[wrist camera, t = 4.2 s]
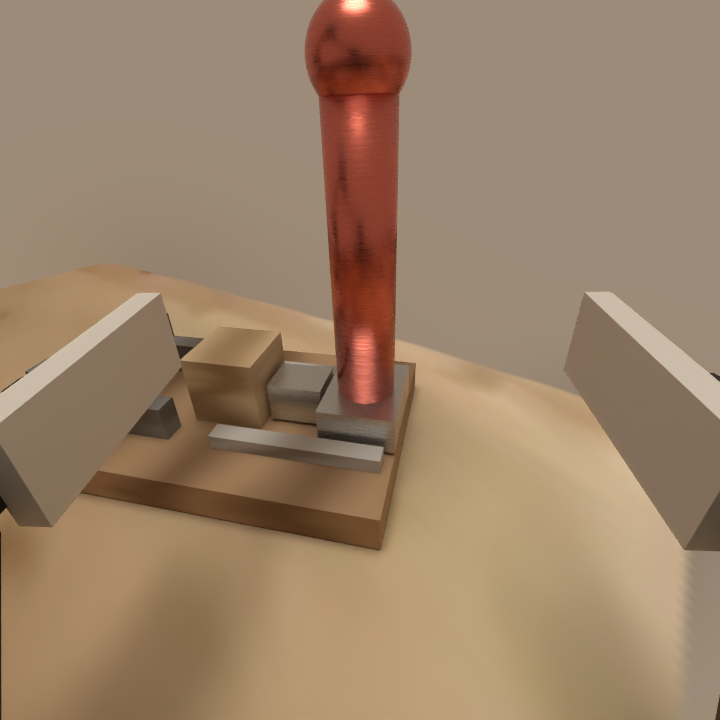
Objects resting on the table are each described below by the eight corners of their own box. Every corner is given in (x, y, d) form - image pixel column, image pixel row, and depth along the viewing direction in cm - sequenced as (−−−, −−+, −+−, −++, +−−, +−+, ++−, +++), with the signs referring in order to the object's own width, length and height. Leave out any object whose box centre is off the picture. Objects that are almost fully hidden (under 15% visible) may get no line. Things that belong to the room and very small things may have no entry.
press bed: (21, 480, 23) (-31, 398, 20) (166, 360, 34) (146, 295, 31) (380, 549, 19) (380, 458, 16) (414, 387, 30) (418, 315, 27)
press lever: (261, 434, 22) (173, -19, 13) (295, 380, 27) (248, 12, 17) (394, 453, 21) (405, -44, 11) (408, 393, 25) (423, -2, 16)
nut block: (196, 420, 24) (179, 360, 22) (230, 381, 27) (218, 326, 25) (261, 429, 23) (249, 367, 21) (288, 388, 26) (280, 331, 24)
